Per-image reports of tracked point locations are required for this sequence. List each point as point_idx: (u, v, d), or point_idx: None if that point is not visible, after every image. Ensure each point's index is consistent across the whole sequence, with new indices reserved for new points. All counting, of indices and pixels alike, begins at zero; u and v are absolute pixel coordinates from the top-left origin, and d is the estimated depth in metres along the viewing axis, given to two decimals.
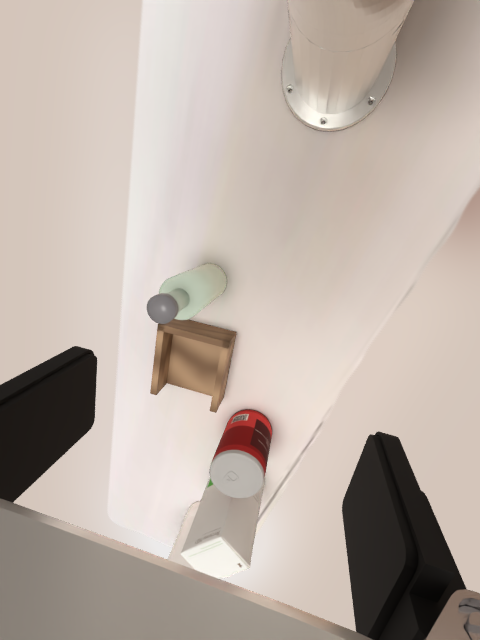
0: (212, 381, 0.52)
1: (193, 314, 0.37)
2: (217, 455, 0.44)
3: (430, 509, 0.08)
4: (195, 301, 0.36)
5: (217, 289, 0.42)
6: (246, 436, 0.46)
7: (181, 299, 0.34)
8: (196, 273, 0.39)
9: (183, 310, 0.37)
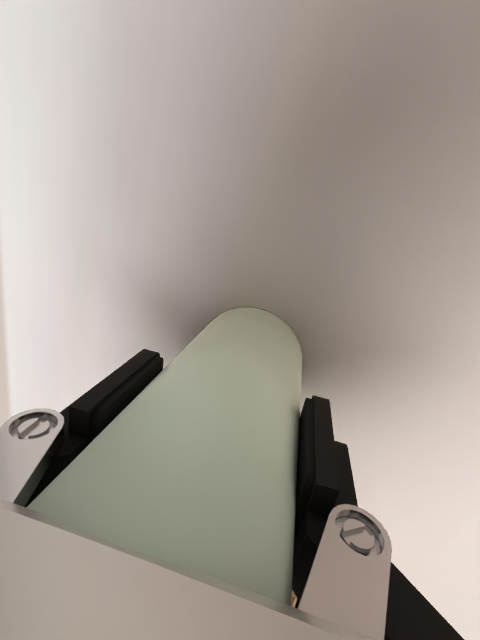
0: None
1: None
2: None
3: (347, 456, 0.09)
4: None
5: None
6: None
7: None
8: (221, 418, 0.07)
9: None
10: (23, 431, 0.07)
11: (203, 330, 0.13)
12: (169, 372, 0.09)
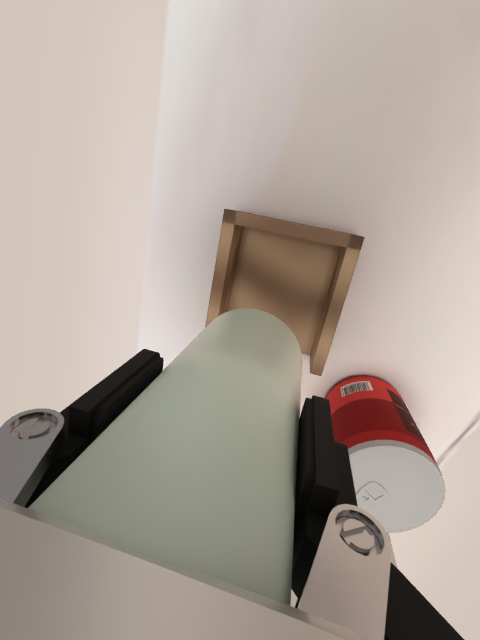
0: (305, 327, 0.31)
1: None
2: None
3: (347, 456, 0.09)
4: None
5: None
6: (390, 415, 0.25)
7: None
8: (220, 421, 0.07)
9: None
10: (23, 431, 0.07)
11: (203, 331, 0.13)
12: (168, 374, 0.09)
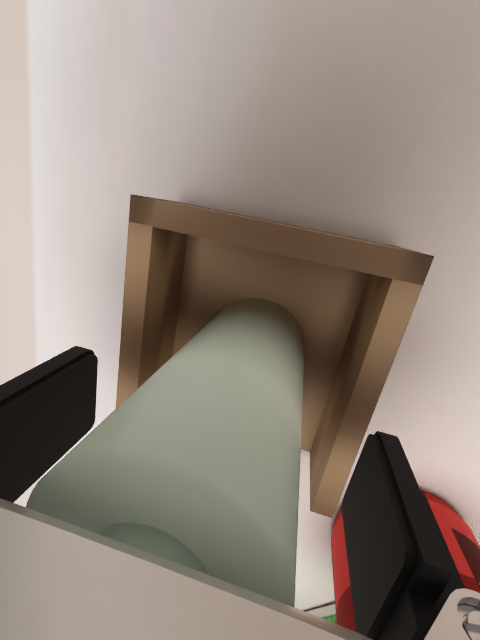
0: (302, 407, 0.18)
1: None
2: None
3: (429, 508, 0.08)
4: None
5: None
6: None
7: None
8: (239, 375, 0.08)
9: None
10: None
11: (215, 317, 0.15)
12: (190, 345, 0.10)
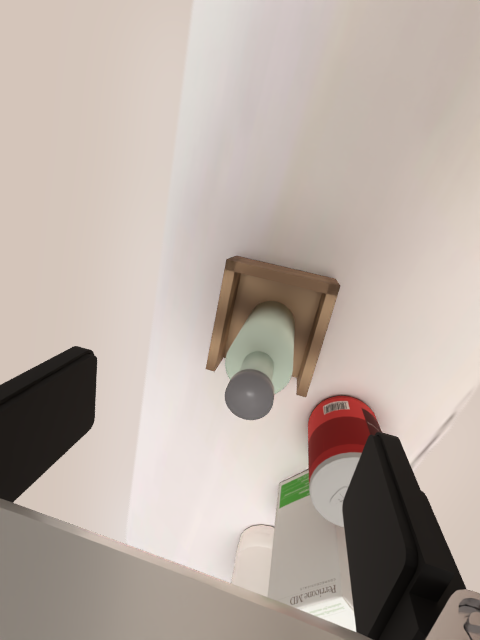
0: None
1: (278, 389, 0.24)
2: (325, 461, 0.28)
3: (430, 509, 0.08)
4: (283, 371, 0.24)
5: None
6: (362, 432, 0.30)
7: (271, 374, 0.22)
8: (275, 324, 0.27)
9: None
10: None
11: (255, 309, 0.33)
12: (254, 317, 0.29)
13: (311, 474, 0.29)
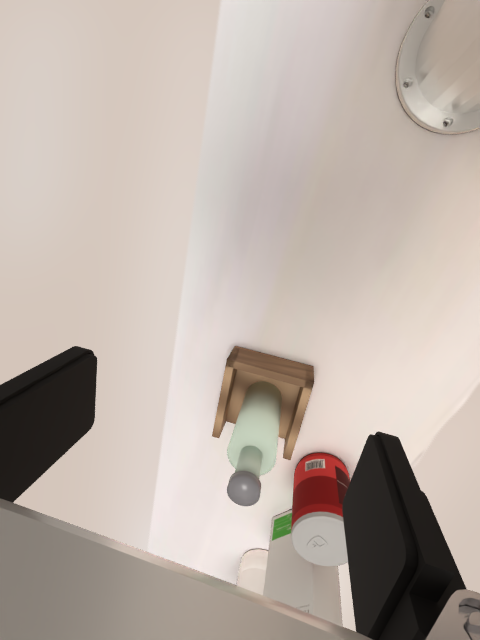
0: (281, 421, 0.45)
1: (265, 471, 0.33)
2: (302, 517, 0.37)
3: (430, 509, 0.08)
4: (269, 460, 0.33)
5: None
6: (331, 491, 0.39)
7: (259, 468, 0.31)
8: (264, 418, 0.36)
9: None
10: None
11: (251, 391, 0.42)
12: (249, 407, 0.38)
13: (292, 525, 0.38)
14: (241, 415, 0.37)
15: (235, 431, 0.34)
